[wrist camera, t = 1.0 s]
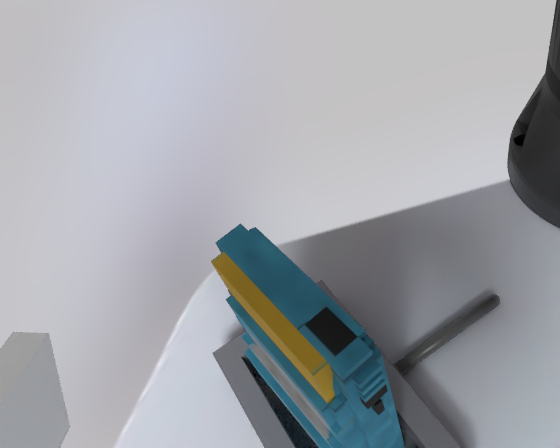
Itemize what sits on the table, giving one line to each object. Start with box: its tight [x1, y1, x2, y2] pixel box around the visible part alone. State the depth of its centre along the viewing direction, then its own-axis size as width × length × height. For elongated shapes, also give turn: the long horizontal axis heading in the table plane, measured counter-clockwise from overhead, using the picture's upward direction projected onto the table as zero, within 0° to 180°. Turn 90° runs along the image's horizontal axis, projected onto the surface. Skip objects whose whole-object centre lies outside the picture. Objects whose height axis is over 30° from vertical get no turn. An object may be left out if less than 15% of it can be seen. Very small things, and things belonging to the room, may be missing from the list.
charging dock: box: [213, 280, 500, 448], centre depth 33 cm, size 18×15×2 cm
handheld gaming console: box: [211, 224, 405, 448], centre depth 27 cm, size 10×4×15 cm, turn 38°
